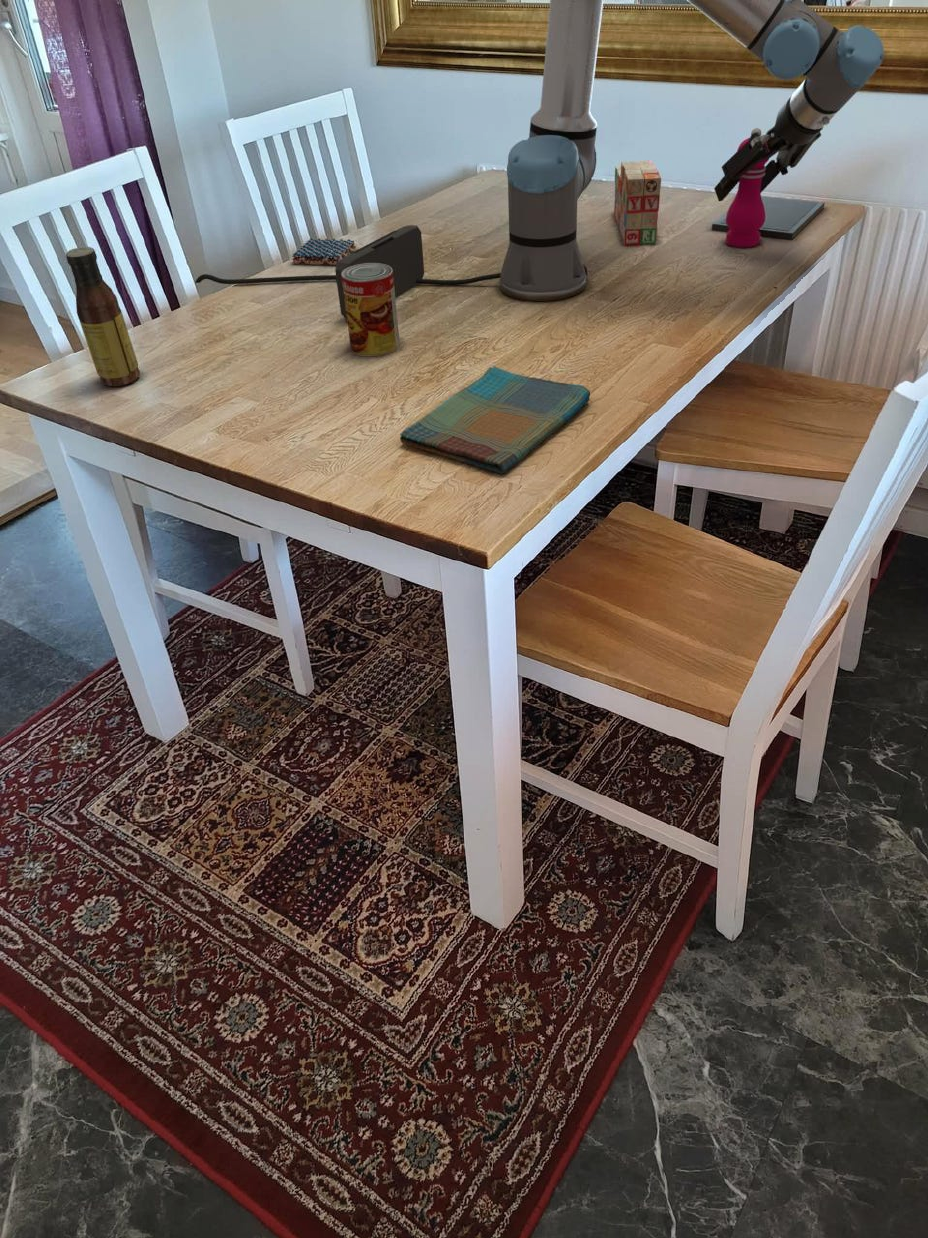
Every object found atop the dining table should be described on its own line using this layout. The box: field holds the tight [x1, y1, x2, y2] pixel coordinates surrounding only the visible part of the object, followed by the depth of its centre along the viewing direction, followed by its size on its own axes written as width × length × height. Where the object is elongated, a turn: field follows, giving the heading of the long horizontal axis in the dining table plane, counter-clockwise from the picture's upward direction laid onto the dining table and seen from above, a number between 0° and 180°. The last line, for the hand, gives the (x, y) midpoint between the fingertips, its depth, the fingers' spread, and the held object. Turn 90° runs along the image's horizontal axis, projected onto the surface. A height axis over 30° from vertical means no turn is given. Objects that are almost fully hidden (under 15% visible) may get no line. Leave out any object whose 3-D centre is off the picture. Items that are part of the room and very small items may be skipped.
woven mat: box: [291, 238, 357, 267], centre depth 191 cm, size 10×11×2 cm
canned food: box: [341, 263, 401, 357], centre depth 152 cm, size 8×8×12 cm
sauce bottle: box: [65, 246, 141, 387], centre depth 144 cm, size 7×6×20 cm
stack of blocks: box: [613, 160, 662, 246], centre depth 193 cm, size 21×6×12 cm, turn 179°
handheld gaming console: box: [334, 224, 425, 320], centre depth 169 cm, size 23×3×10 cm, turn 149°
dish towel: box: [399, 365, 591, 474], centre depth 132 cm, size 17×23×2 cm
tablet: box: [711, 195, 826, 241], centre depth 196 cm, size 22×16×1 cm
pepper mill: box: [725, 127, 770, 248], centre depth 180 cm, size 7×7×20 cm
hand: (737, 190), depth 183 cm, fingers open, 8 cm apart
